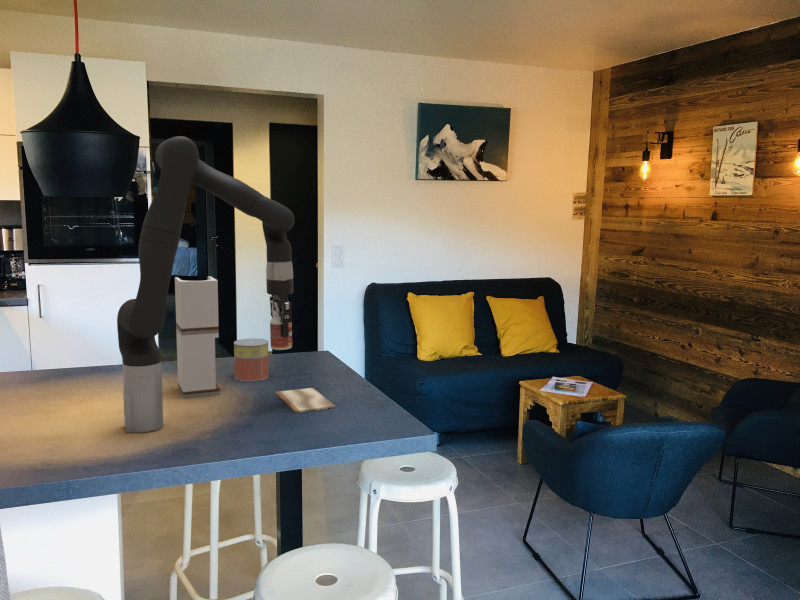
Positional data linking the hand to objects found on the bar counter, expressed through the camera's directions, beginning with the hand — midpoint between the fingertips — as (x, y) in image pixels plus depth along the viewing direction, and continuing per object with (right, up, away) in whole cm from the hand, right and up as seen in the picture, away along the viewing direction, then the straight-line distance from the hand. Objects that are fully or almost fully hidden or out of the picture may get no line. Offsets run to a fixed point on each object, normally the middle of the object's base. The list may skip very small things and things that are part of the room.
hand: (281, 334), depth 188 cm
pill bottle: (0, -4, +1) cm, 4 cm away
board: (+6, -20, +6) cm, 22 cm away
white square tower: (-28, -19, +12) cm, 36 cm away
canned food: (-16, -16, +31) cm, 38 cm away
